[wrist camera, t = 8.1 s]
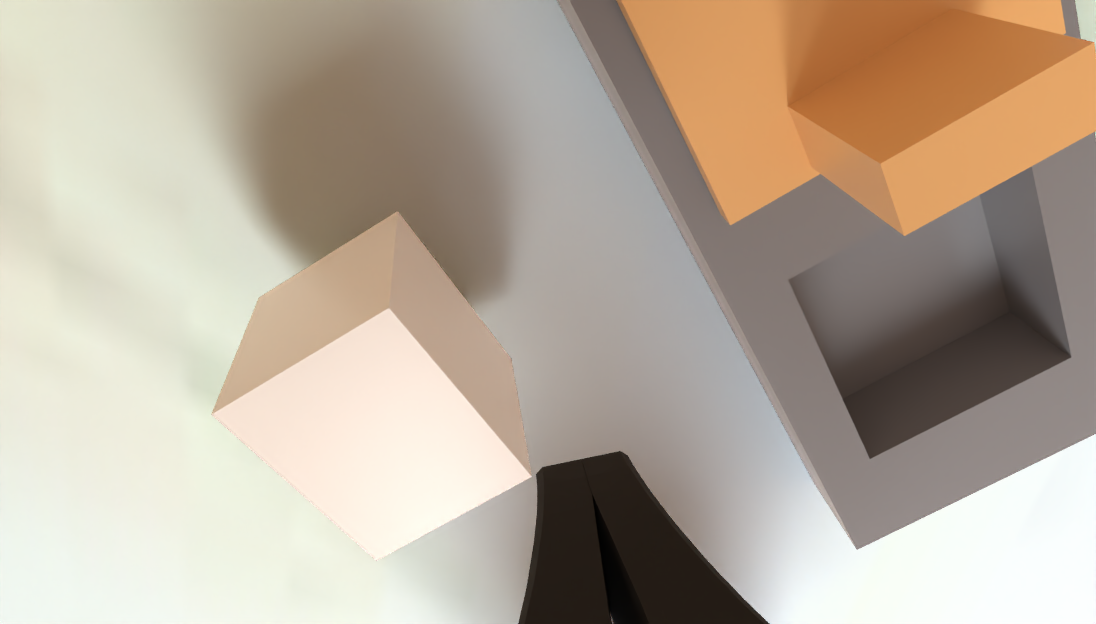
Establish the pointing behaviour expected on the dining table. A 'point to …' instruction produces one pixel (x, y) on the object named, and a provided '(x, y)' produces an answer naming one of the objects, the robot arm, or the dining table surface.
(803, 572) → the dining table surface
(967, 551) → the dining table surface
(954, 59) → the shutter
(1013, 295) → the grey recessed box
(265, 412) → the beige rectangular block
